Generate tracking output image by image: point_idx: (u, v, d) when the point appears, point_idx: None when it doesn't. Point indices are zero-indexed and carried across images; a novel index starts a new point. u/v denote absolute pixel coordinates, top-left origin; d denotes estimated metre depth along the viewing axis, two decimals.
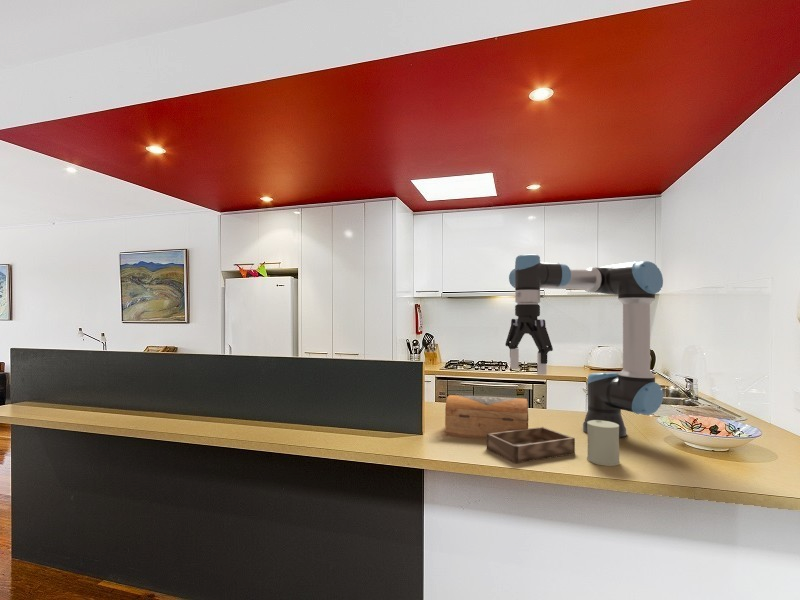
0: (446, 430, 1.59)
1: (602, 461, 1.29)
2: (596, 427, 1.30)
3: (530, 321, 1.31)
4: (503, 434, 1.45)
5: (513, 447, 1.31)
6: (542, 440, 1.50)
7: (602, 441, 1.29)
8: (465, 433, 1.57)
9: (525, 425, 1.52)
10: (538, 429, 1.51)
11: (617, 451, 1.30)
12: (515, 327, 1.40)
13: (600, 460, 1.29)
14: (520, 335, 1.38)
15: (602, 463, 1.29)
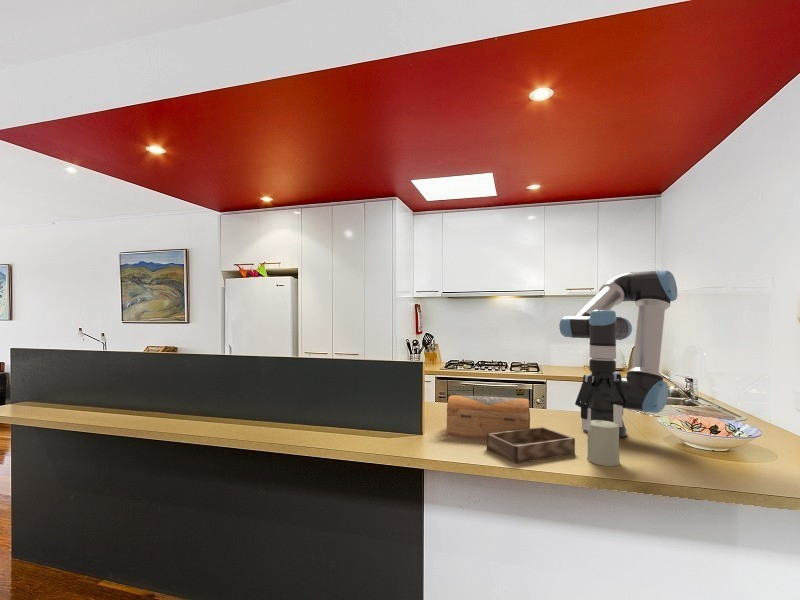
0: (448, 430, 1.59)
1: (602, 461, 1.29)
2: (596, 427, 1.30)
3: None
4: (503, 434, 1.45)
5: (513, 447, 1.31)
6: (542, 440, 1.50)
7: (602, 441, 1.29)
8: (466, 433, 1.57)
9: (527, 425, 1.52)
10: (538, 429, 1.51)
11: (617, 451, 1.30)
12: (615, 382, 1.36)
13: (600, 460, 1.29)
14: (610, 391, 1.35)
15: (602, 463, 1.29)
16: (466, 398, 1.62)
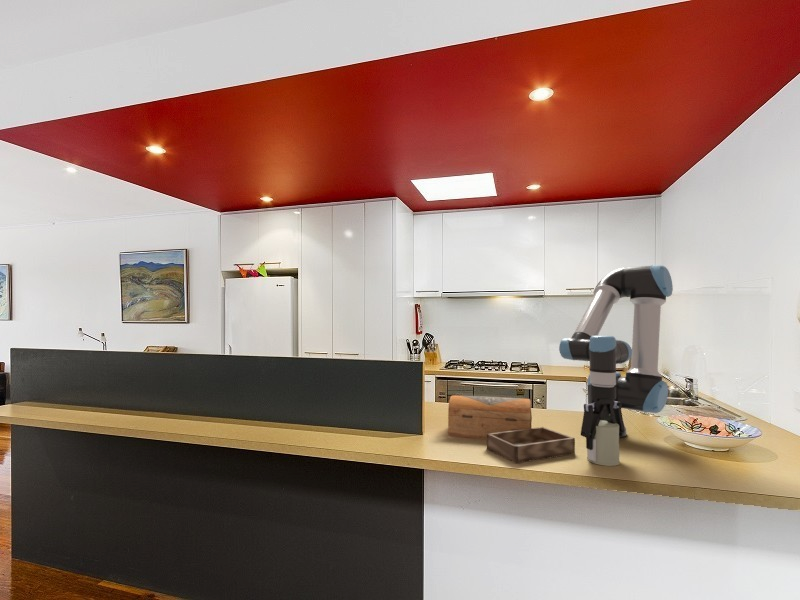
0: (449, 430, 1.58)
1: (602, 461, 1.29)
2: (596, 427, 1.30)
3: None
4: (503, 434, 1.45)
5: (513, 447, 1.31)
6: (542, 440, 1.50)
7: (602, 441, 1.29)
8: (468, 433, 1.57)
9: (529, 425, 1.52)
10: (538, 429, 1.51)
11: (617, 451, 1.30)
12: (614, 410, 1.36)
13: (600, 460, 1.29)
14: (609, 418, 1.34)
15: (602, 463, 1.29)
16: (467, 398, 1.62)
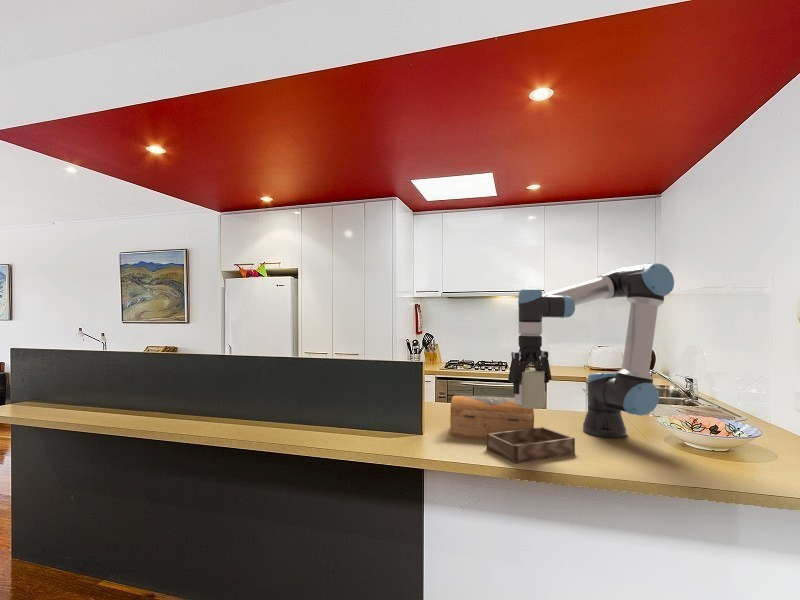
0: (451, 431, 1.58)
1: (527, 404, 1.38)
2: (522, 373, 1.39)
3: None
4: (503, 434, 1.45)
5: (513, 447, 1.31)
6: (542, 440, 1.50)
7: (527, 386, 1.38)
8: (470, 433, 1.57)
9: (531, 425, 1.52)
10: (538, 429, 1.51)
11: (541, 395, 1.39)
12: (542, 359, 1.45)
13: (526, 403, 1.38)
14: (536, 366, 1.43)
15: (527, 406, 1.38)
16: (470, 398, 1.62)
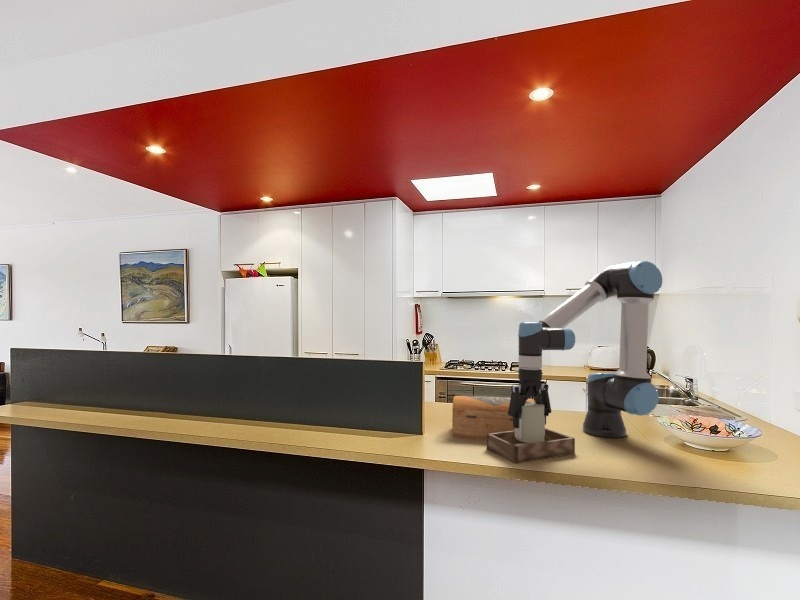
0: (453, 431, 1.58)
1: (527, 439, 1.38)
2: (522, 407, 1.39)
3: None
4: (503, 434, 1.45)
5: (513, 447, 1.31)
6: None
7: (527, 420, 1.38)
8: (472, 433, 1.56)
9: None
10: None
11: (541, 429, 1.38)
12: (542, 392, 1.45)
13: (525, 438, 1.38)
14: (536, 399, 1.43)
15: (527, 441, 1.38)
16: (471, 398, 1.62)
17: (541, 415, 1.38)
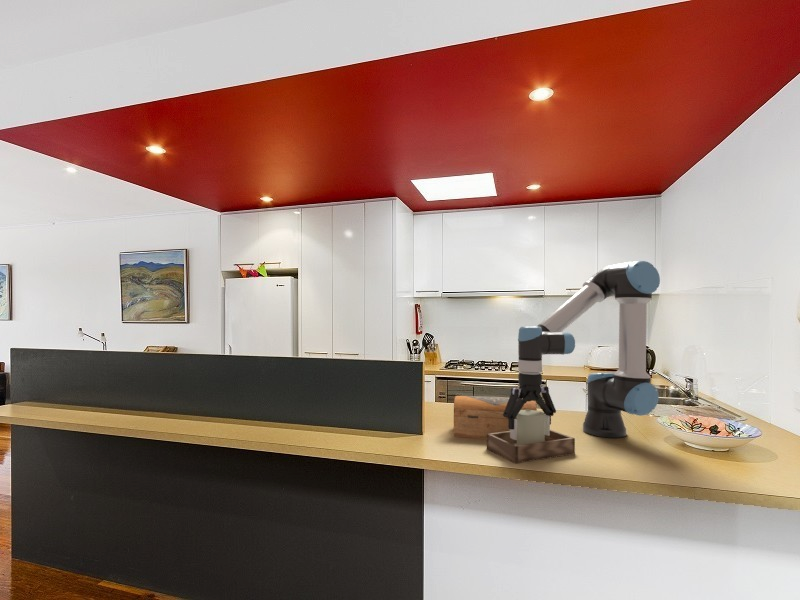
0: (454, 431, 1.58)
1: None
2: (523, 416, 1.39)
3: None
4: (503, 434, 1.45)
5: (513, 447, 1.31)
6: None
7: (527, 429, 1.38)
8: (473, 433, 1.56)
9: None
10: None
11: (542, 438, 1.38)
12: (543, 394, 1.45)
13: None
14: (538, 402, 1.44)
15: None
16: (472, 398, 1.62)
17: (542, 424, 1.38)
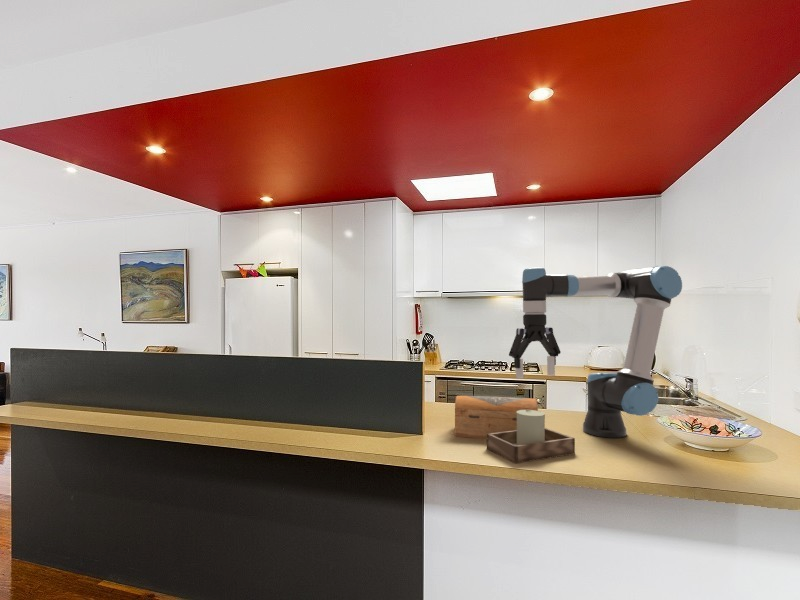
0: (456, 431, 1.58)
1: None
2: (523, 415, 1.39)
3: None
4: (503, 434, 1.45)
5: (513, 447, 1.31)
6: None
7: (527, 429, 1.38)
8: (475, 433, 1.57)
9: None
10: None
11: (542, 438, 1.38)
12: (548, 335, 1.47)
13: None
14: (543, 343, 1.46)
15: None
16: (473, 398, 1.62)
17: (542, 424, 1.38)
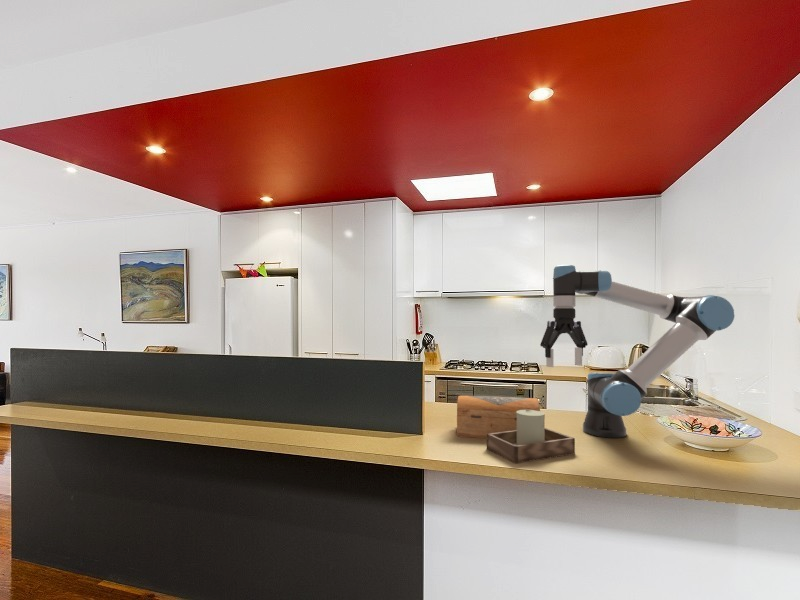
0: (458, 431, 1.58)
1: None
2: (522, 415, 1.39)
3: None
4: (503, 434, 1.45)
5: (513, 447, 1.31)
6: None
7: (527, 428, 1.38)
8: (477, 433, 1.57)
9: None
10: None
11: (542, 438, 1.38)
12: (576, 328, 1.58)
13: None
14: (571, 335, 1.57)
15: None
16: (475, 398, 1.62)
17: (541, 423, 1.38)
